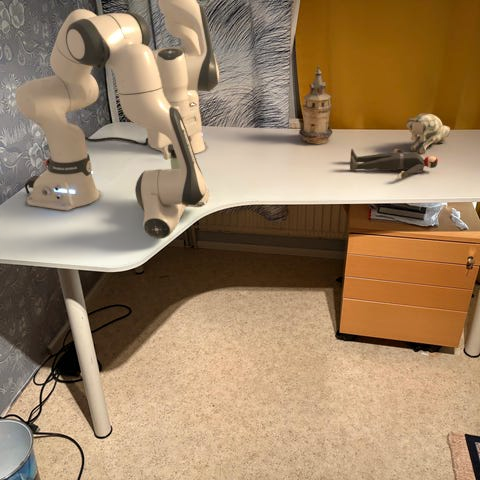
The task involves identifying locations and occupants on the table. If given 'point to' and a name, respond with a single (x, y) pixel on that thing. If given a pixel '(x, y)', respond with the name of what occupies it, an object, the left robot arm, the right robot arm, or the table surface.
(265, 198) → the table surface
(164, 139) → the right robot arm
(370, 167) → the toy
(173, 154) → the lid
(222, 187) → the table surface
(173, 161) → the pale green tall cylinder
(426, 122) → the figurine
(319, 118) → the miniature building
